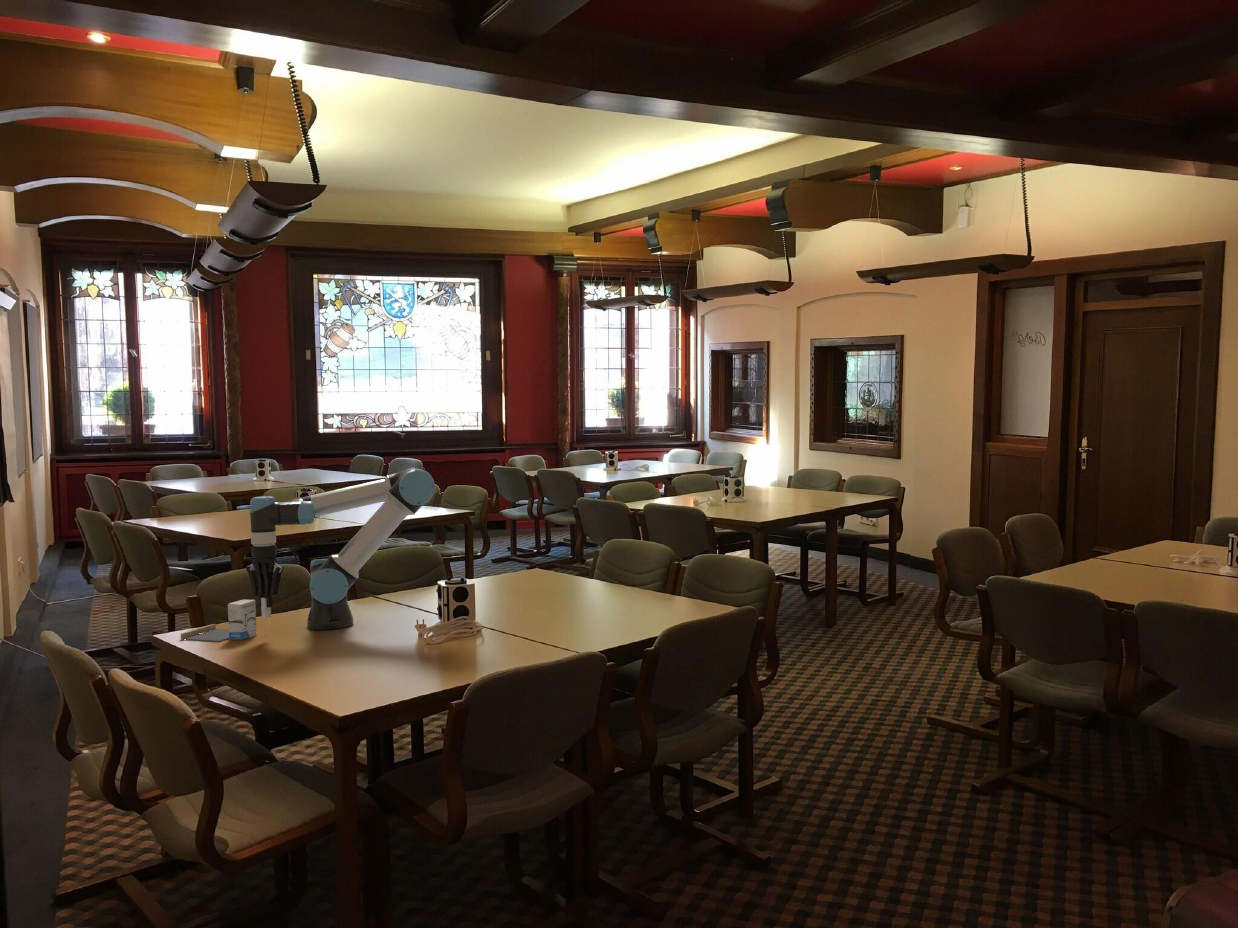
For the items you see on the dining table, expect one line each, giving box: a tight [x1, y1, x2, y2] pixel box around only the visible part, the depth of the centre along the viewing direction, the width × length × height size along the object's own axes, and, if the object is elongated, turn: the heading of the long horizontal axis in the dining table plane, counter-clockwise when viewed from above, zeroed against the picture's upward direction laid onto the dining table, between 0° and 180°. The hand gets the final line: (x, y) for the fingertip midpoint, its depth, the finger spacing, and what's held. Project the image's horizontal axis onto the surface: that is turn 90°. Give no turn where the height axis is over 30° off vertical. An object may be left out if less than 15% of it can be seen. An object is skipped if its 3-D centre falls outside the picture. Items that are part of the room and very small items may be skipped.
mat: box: [180, 623, 229, 643], centre depth 312 cm, size 15×15×2 cm
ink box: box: [227, 599, 258, 641], centre depth 308 cm, size 9×5×12 cm, turn 168°
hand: (266, 617), depth 306 cm, fingers closed
